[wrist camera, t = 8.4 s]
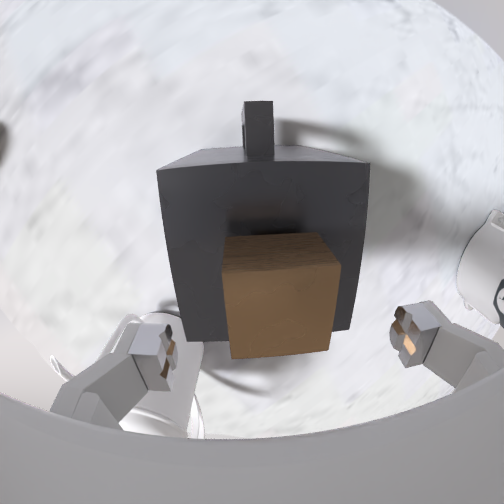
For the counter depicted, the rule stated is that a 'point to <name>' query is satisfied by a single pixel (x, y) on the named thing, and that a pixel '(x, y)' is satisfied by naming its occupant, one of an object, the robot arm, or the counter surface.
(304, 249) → the plunger
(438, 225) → the counter surface
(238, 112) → the counter surface
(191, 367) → the coffeepot
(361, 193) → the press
